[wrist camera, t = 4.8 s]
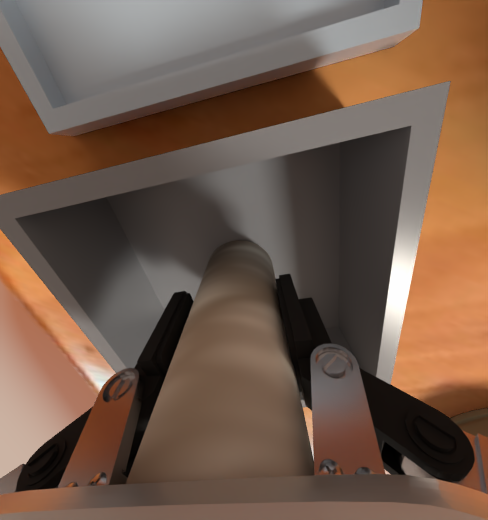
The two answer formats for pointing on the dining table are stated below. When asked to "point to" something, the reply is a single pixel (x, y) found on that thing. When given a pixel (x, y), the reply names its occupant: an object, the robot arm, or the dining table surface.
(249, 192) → the grey storage bin
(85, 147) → the dining table surface
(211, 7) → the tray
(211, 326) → the peg
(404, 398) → the robot arm
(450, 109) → the dining table surface
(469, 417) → the can
